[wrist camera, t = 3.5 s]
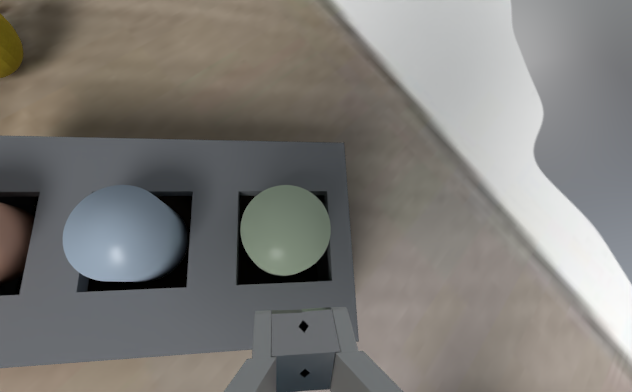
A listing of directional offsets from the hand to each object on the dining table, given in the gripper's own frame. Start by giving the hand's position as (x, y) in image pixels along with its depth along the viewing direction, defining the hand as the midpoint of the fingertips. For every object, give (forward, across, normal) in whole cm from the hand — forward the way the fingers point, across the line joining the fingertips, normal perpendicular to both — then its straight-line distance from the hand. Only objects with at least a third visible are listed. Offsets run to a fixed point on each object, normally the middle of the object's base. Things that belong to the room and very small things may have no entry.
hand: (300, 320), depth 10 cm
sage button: (+9, 0, +3) cm, 10 cm away
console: (+14, +8, +8) cm, 18 cm away
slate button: (+9, +8, +3) cm, 13 cm away
